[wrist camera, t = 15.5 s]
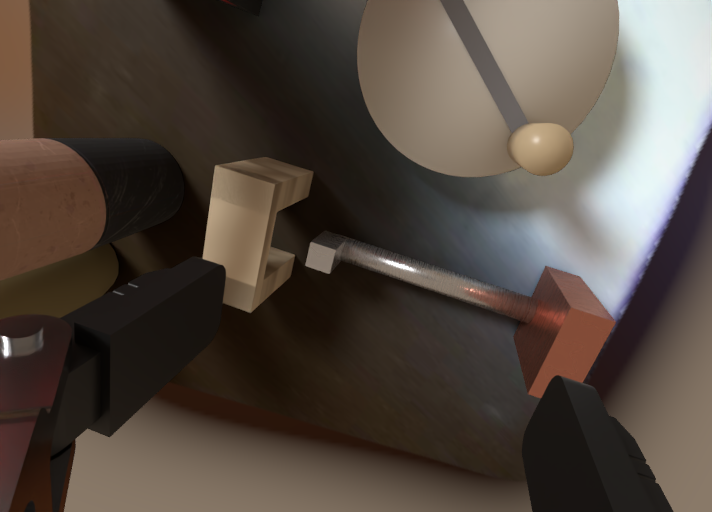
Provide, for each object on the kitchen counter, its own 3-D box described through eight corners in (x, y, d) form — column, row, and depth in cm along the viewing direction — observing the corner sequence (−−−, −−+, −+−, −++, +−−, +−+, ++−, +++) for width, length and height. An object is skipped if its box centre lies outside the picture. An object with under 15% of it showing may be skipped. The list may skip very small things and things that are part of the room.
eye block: (247, 261, 35) (197, 293, 29) (265, 156, 32) (215, 165, 26) (290, 276, 35) (250, 312, 28) (313, 171, 32) (274, 184, 25)
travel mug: (203, 177, 34) (-103, 241, 15) (162, 243, 37) (-140, 365, 18) (131, 114, 34) (-266, 104, 15) (95, 186, 37) (-278, 250, 18)
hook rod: (319, 270, 34) (285, 307, 27) (336, 200, 32) (304, 220, 25) (545, 347, 31) (568, 408, 25) (579, 276, 29) (616, 322, 23)
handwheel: (334, 135, 28) (303, 138, 22) (404, -121, 23) (386, -200, 17) (542, 206, 26) (564, 228, 20) (666, -54, 21) (740, -117, 15)
